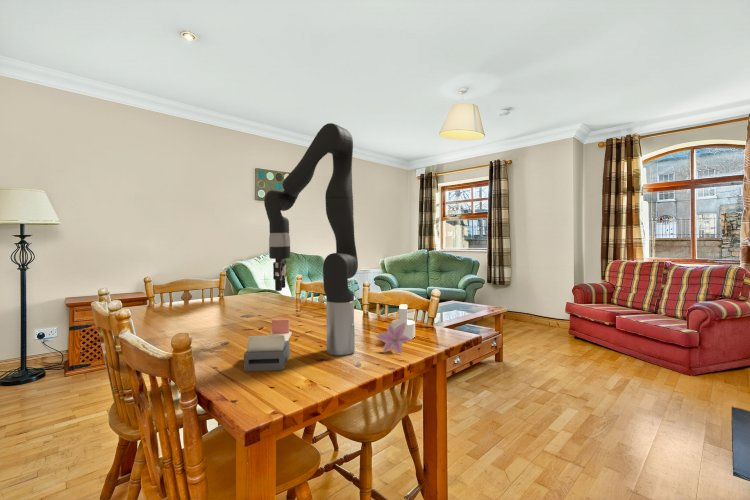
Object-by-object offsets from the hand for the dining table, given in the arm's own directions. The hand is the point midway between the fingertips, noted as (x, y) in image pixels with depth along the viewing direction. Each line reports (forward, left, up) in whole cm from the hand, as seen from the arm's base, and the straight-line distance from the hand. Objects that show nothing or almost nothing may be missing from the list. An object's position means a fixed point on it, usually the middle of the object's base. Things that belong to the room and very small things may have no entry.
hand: (280, 289), depth 131 cm
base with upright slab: (-46, +1, -19) cm, 50 cm away
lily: (-40, +16, -19) cm, 47 cm away
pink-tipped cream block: (0, +9, -17) cm, 19 cm away
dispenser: (0, +23, -19) cm, 30 cm away
